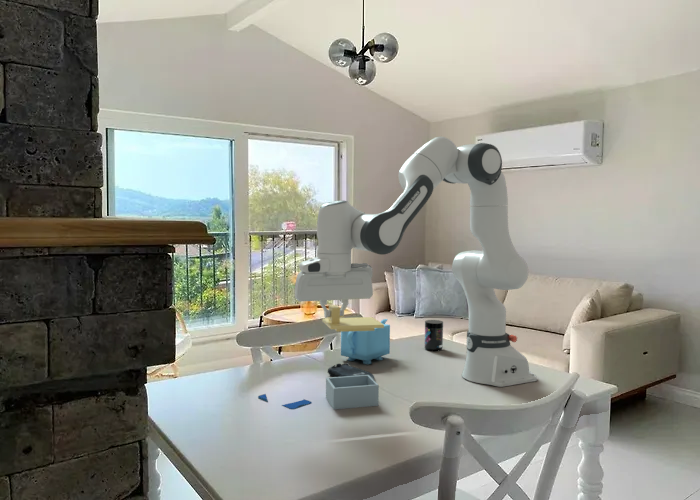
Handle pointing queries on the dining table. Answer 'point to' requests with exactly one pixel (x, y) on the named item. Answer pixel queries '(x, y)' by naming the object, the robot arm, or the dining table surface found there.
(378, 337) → the teapot
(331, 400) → the tub
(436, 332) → the supplement container
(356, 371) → the electronic device
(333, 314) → the lid
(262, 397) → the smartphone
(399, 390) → the dining table surface
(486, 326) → the robot arm
